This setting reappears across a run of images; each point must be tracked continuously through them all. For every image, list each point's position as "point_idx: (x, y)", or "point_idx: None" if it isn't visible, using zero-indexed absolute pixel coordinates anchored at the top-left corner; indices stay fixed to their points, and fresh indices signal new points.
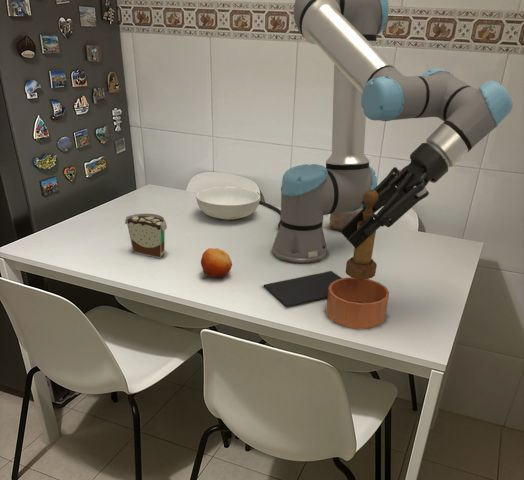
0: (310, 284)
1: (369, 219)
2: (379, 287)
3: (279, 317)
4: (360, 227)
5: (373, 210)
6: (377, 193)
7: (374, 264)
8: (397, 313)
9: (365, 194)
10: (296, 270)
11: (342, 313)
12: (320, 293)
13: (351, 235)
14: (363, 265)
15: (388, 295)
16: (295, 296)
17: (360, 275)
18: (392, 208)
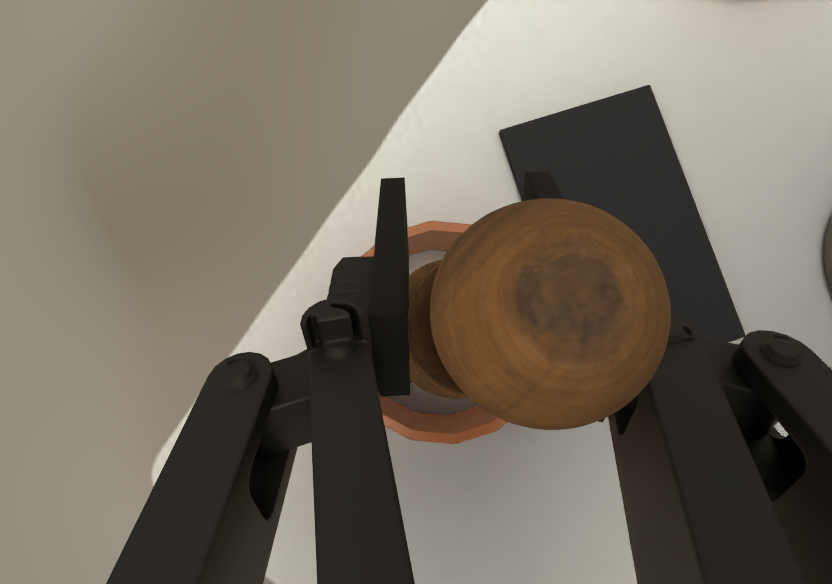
0: (639, 234)
1: (383, 294)
2: (475, 423)
3: (444, 102)
4: (390, 236)
5: (628, 420)
6: (518, 408)
7: (425, 380)
8: (424, 466)
9: (526, 203)
10: (767, 218)
11: None
12: None
13: (396, 193)
14: None
15: (386, 426)
16: (556, 167)
17: None
18: (186, 504)
